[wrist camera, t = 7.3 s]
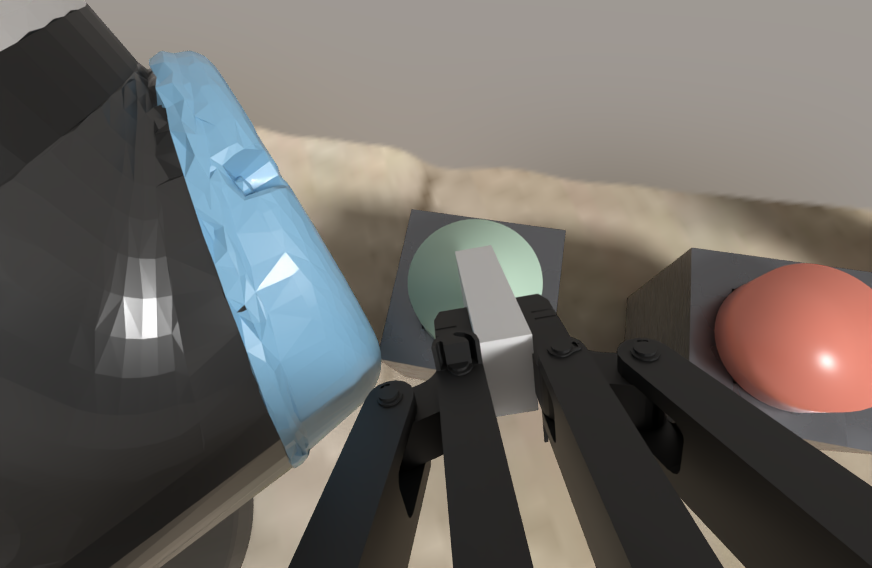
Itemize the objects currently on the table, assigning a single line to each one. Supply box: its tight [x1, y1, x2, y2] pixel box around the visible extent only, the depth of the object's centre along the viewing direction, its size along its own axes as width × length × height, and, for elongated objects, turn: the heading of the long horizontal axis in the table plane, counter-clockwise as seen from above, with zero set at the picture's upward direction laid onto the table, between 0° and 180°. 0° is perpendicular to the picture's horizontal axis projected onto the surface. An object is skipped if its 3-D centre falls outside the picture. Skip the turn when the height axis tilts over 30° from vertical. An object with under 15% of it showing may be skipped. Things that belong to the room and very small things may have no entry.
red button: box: [714, 263, 872, 413], centre depth 22 cm, size 6×6×10 cm
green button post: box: [380, 209, 566, 381], centre depth 25 cm, size 8×8×9 cm
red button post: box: [625, 248, 872, 454], centre depth 23 cm, size 8×8×9 cm
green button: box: [408, 219, 543, 339], centre depth 24 cm, size 6×6×10 cm
